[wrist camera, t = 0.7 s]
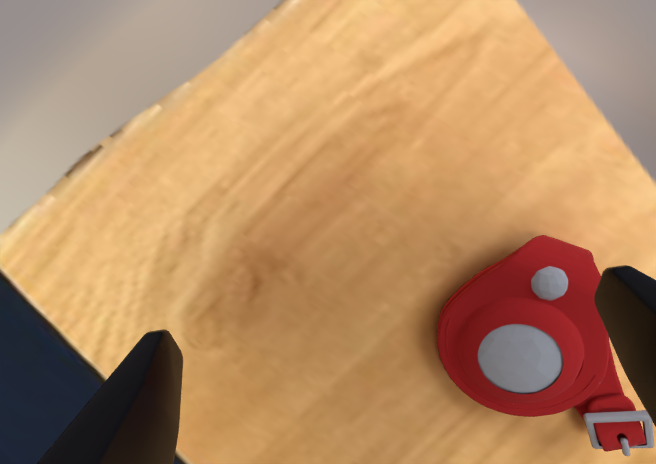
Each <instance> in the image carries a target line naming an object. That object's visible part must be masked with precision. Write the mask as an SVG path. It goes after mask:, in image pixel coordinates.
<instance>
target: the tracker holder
mask: <svg viewBox="0 0 656 464" xmlns="http://www.w3.org/2000/svg"><path fill="white" fill-rule="evenodd" d="M600 279H601V276H600V273H599V271H598V269H597V267H596V265H595V263H594V259H593V255H592V253H591V252H590V251H589V250H586V249H583V248H580V247H577V246H575V245H572V244H569V243H566V242H563V241H560V240H557V239H554V238H551V237H548V236H545V235H542V236H538V237H535V238H533V239H532V240H530V241H528V242H527V243H526V244H525V245H524V246H522V247H520V248H519V249H518V250H516V251H515V252H513V253H512V254H510V255H509V256H507V257H506V258H504V259H502V260H501V261H499V262H497V263H495V264H493V265H491V266H489V267H487V268H485V269H484V270H482V271H481V272H480V273H478V274H477V275H475V276H474V277H473V278H472V279H470V280H469V281H468V282H467V283H466V284H464V285H463V286H462V287H461V288H460V289H459V290H458V291H457V292H456V293H455V294H454V295H453V296H452V297H451V298H450V299H449V300H448V302H447V303H446V304H445V306H444V307H443V309H442V311H441V314H440V318H439V321H438V328H437V340H438V349H439V354H440V358H441V361H442V363H443V365H444V368H445V370H446V371H447V373H448V375H449V376H450V378H451V379H452V381H453V382H454V383H455V384H456V385H457V386H458V387H459V388H460V389H461V390H462V391H463V392H464V393H465V394H467V395H468V396H469V397H470V398H472V399H473V400H475V401H476V402H478V403H480V404H482V405H484V406H486V407H488V408H491V409H493V410H496V411H499V412H502V413H505V414H510V415H517V416H528V417H535V416H544V415H551V414H556V413H559V412H563V411H565V410H567V409H570V408H572V407H575V408H576V410H577V411H578V413H579V414H580V415H581V417H582V418H583V420H584V421H585V424H586V427H587V431H588V434H589V437H590V441H591V444H592V447H593V448H595V449H603V450H604V451H612V450H618V449H622V452H623V454H624V455H625V456H629V455H630V449H629V448H653V447H654V439H653V427H652V419H651V418H650V416H649V414H648V412H647V411H646V410H643V411H636V409H635V406H634V404H633V403H632V401H631V400H630V399H629V398H628V397H626V396H625V395H624V393H623V390H622V387H621V384H620V381H619V378H618V375H617V372H616V369H615V365H614V360H613V356H612V352H611V348H610V343H609V335H608V333H607V331H606V328H605V326H604V324H603V322H602V319H601V317H600V315H599V312H598V310H597V308H596V305H595V301H594V296H595V292H596V289H597V286H598V284H599V281H600ZM640 421H643V429H642V426H641V423H640ZM643 430H644V432H643Z"/></svg>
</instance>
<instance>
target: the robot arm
mask: <svg viewBox="0 0 656 464" xmlns="http://www.w3.org/2000/svg"><path fill="white" fill-rule="evenodd" d="M594 301H595V305H596V308H597V310H598V312H599V315H600V317H601V319H602V322H603V324H604V326H605V328H606V331H607V333H608V335H609V338H610V340H611V342H612V344H613V347H614V349H615V351H616V354H617V356H618V358H619V361H620V363H621V365H622V367H623V369H624V371H625V373H626V375H627V377H628V379H629V381H630V383H631V385H632V386H633V388H634V390H635V392H636V393H637V395H638V397H639V399H640V400H641V402H642V404H643V405H644V407H645V409H646V411H647V412H648V414H649V416H650V418H651V419H652V421H653V423H654V425H655V426H656V280H654V279H653V278H651V277H649V276H647V275H645V274H644V273H642V272H640V271H638V270H636V269H635V268H633V267H630V266H626V265H624V266H616V267H609V268H606V269H605V270H604V271H603V273H602V276H601V279H600V281H599V284H598V286H597V289H596V292H595V296H594ZM182 371H183V356H182V353H181V350H180V349H179V347H178V345H177V344H176V342H175V340H174V339H173V337H172V335H171V334H170V332H169V331H167V330H157V331H151V332H148V333H146V334H145V335H144V336H143V337H142V338H141V339H140V341H139V342H138V343H137V344H136V345H135V347H134V348H133V349H132V350H131V351H130V353H129V354H128V355H127V356H126V357H125V359H124V360H123V361H122V362H121V363H120V365H119V366H118V367H117V368H116V369H115V371H114V372H113V373H112V374H111V375H110V377H109V378H108V379H107V380H106V381H105V383H104V384H103V385H102V386H101V387H100V389H99V390H98V391H97V392H96V393H95V395H94V396H93V397H92V398H91V399H90V401H89V402H88V403H87V404H86V405H85V407H84V408H83V409H82V410H81V411H80V413H79V414H78V415H77V416H76V417H75V419H74V420H73V421H72V422H71V423H70V425H69V426H68V427H67V428H66V429H65V431H64V432H63V433H62V434H61V435H60V437H59V438H58V439H57V440H56V441H55V443H54V444H53V445H52V446H51V447H50V449H49V450H48V451H47V452H46V453H45V455H44V456H43V457H42V458H41V459H40V461H39V462H38V463H37V464H173V462H174V456H175V450H176V445H177V438H178V431H179V419H180V403H181V387H182Z"/></svg>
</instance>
